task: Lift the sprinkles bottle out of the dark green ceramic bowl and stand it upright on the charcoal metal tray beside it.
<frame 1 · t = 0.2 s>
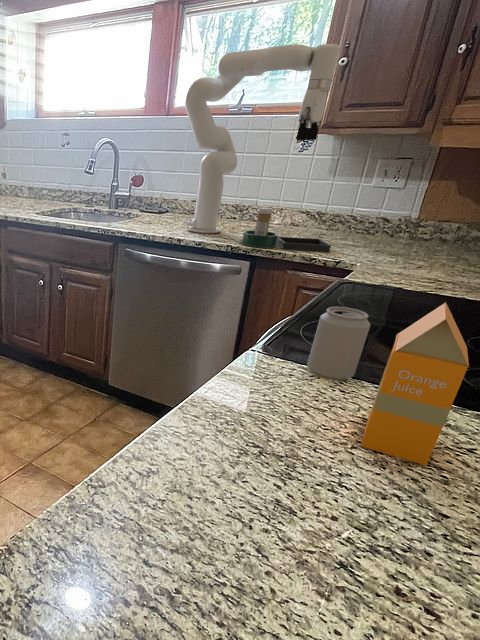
hand: (306, 140, 187), 37 cm above the worktop, tool pointing down, fingers open, 9 cm apart
tray: (301, 247, 196), on the worktop
bowl: (258, 245, 199), on the worktop
orange juice: (394, 443, 75), on the worktop
can: (328, 374, 95), on the worktop
sprinkles bottle: (258, 244, 199), resting on bowl
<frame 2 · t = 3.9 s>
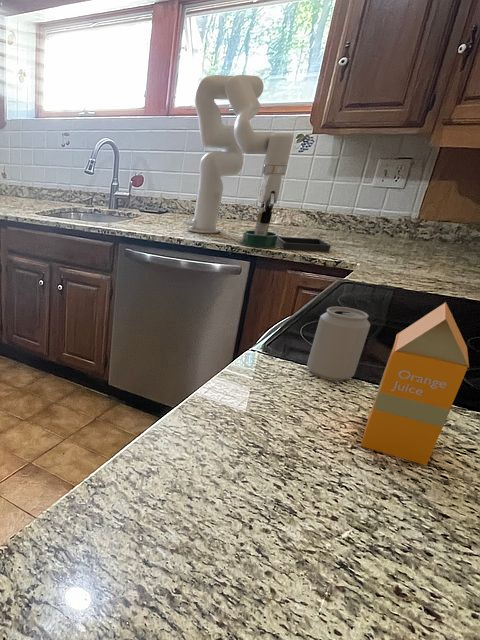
hand: (263, 221, 195), 9 cm above the worktop, tool pointing down, fingers closed on sprinkles bottle, 4 cm apart
sprinkles bottle: (258, 244, 199), resting on bowl, touching gripper
everything else where it was.
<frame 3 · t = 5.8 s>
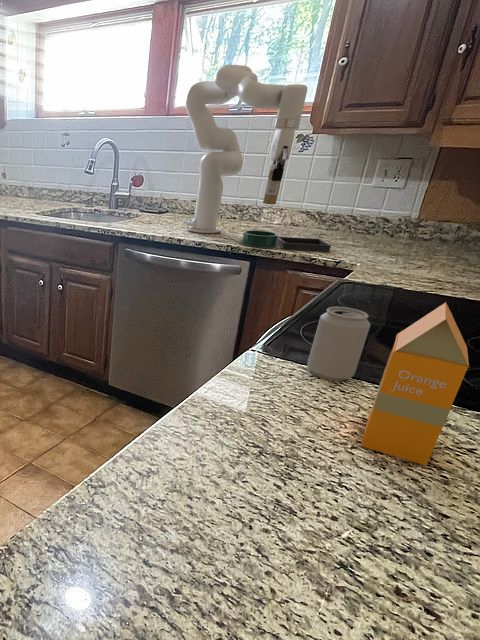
hand: (274, 179, 189), 24 cm above the worktop, tool pointing down, fingers closed on sprinkles bottle, 4 cm apart
sprinkles bottle: (269, 204, 193), point 15 cm above the worktop, touching gripper
everything else where it was.
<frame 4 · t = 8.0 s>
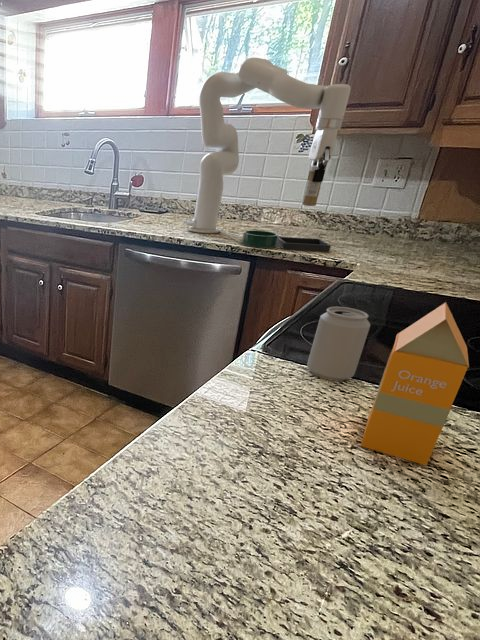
hand: (314, 180, 186), 24 cm above the worktop, tool pointing down, fingers closed on sprinkles bottle, 4 cm apart
sprinkles bottle: (308, 205, 190), point 15 cm above the worktop, touching gripper
everything else where it was.
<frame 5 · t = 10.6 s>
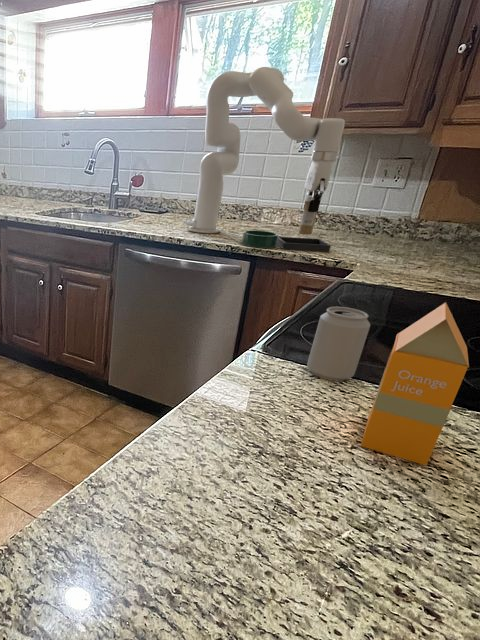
hand: (310, 210, 190), 14 cm above the worktop, tool pointing down, fingers closed on sprinkles bottle, 4 cm apart
sprinkles bottle: (304, 234, 194), point 5 cm above the worktop, touching gripper
everything else where it was.
when the fingers open (9 cm above the worktop, at t = 12.3 s): sprinkles bottle stays where it is, resting on tray.
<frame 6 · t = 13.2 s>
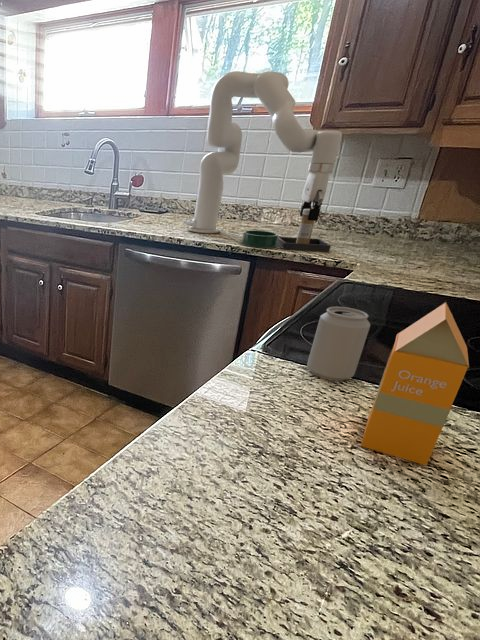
hand: (308, 218, 191), 11 cm above the worktop, tool pointing down, fingers open, 9 cm apart
sprinkles bottle: (301, 246, 195), resting on tray
everything else where it was.
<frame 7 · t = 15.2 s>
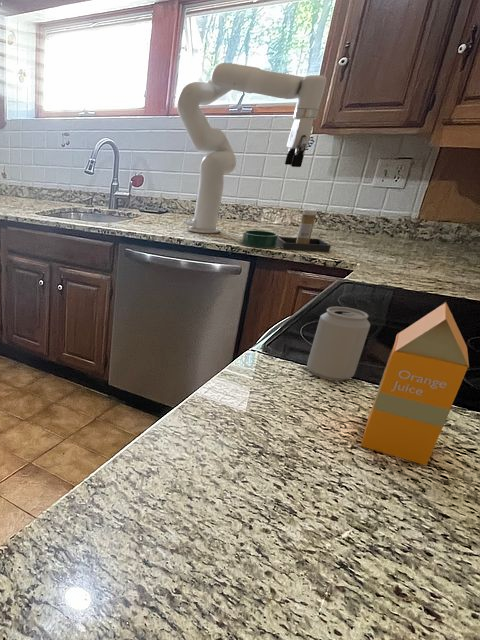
hand: (292, 165, 194), 28 cm above the worktop, tool pointing down, fingers open, 9 cm apart
nothing on the worktop moved.
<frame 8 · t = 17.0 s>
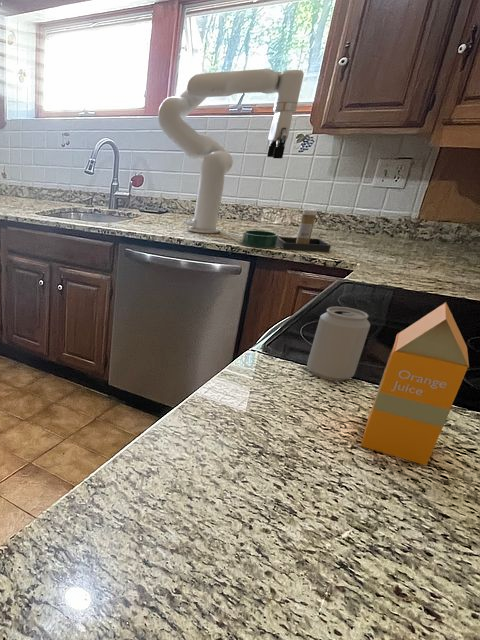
hand: (274, 157, 201), 30 cm above the worktop, tool pointing down, fingers open, 9 cm apart
nothing on the worktop moved.
at the end: sprinkles bottle inside the target area in the tray (0.0 cm from its centre), point 0.3 cm above the tray's base; sprinkles bottle tilted 0°; the gripper is holding nothing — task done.
